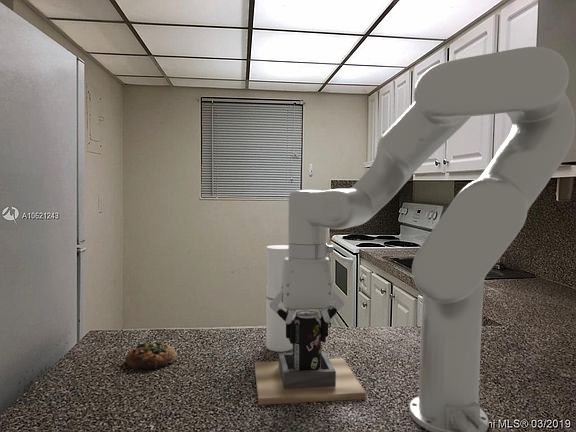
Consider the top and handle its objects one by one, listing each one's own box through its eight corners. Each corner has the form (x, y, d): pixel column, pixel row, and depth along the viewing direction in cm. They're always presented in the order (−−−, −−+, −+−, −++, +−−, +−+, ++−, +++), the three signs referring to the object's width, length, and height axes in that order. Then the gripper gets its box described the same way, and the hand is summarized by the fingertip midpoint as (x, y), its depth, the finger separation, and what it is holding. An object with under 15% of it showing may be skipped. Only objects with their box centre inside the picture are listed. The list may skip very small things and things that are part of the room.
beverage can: (322, 366, 86) (323, 310, 85) (318, 379, 80) (318, 318, 79) (296, 364, 87) (296, 308, 86) (289, 375, 82) (289, 316, 81)
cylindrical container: (269, 352, 99) (270, 249, 97) (263, 342, 106) (263, 245, 104) (298, 349, 101) (299, 248, 99) (290, 339, 108) (291, 244, 106)
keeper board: (365, 398, 77) (365, 376, 77) (258, 404, 75) (258, 382, 74) (343, 363, 93) (343, 345, 93) (254, 367, 90) (254, 348, 90)
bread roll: (125, 374, 87) (125, 349, 87) (125, 361, 97) (125, 339, 97) (179, 368, 91) (179, 345, 91) (173, 356, 101) (174, 335, 101)
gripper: (344, 248, 87) (343, 332, 88) (262, 249, 85) (263, 336, 86) (354, 253, 80) (353, 345, 81) (265, 255, 77) (265, 349, 78)
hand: (306, 339), depth 83 cm, fingers closed on beverage can, 5 cm apart
